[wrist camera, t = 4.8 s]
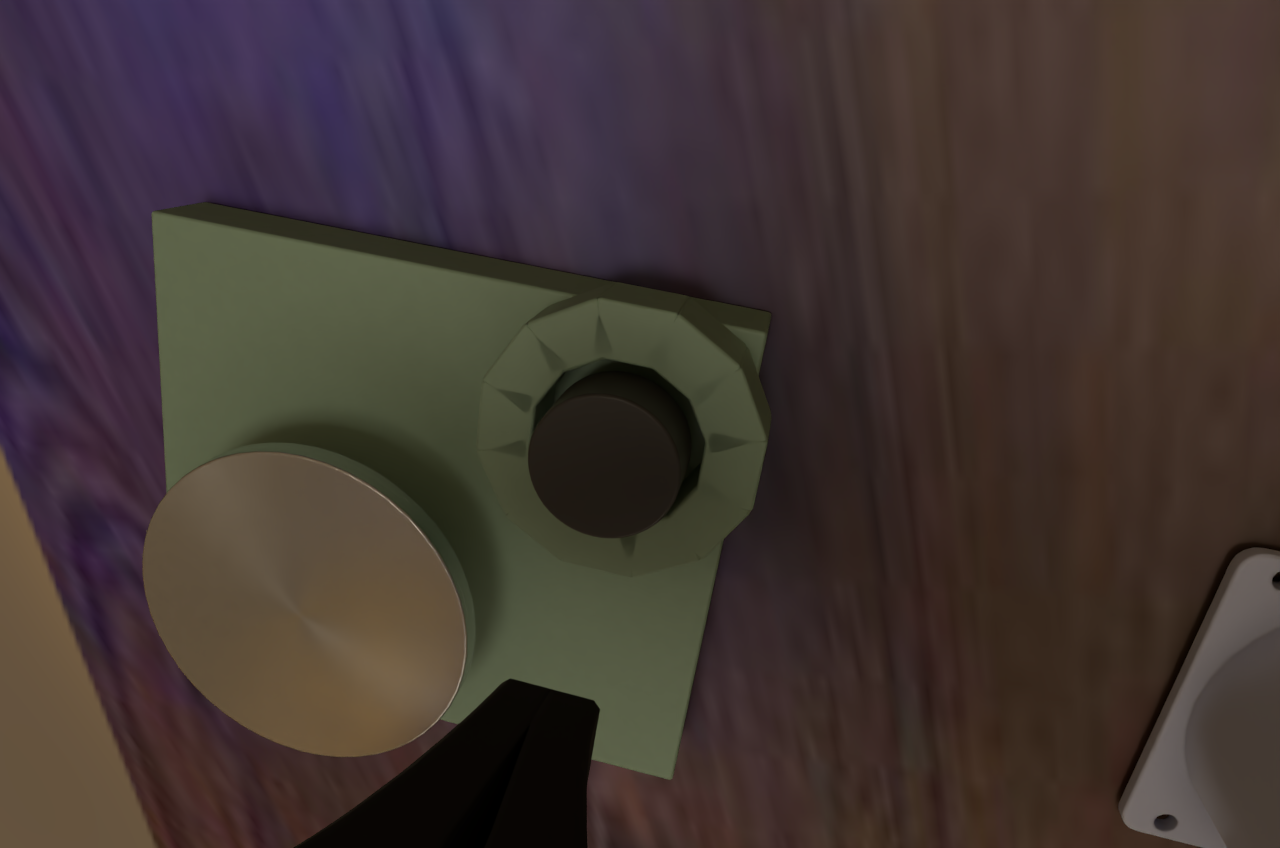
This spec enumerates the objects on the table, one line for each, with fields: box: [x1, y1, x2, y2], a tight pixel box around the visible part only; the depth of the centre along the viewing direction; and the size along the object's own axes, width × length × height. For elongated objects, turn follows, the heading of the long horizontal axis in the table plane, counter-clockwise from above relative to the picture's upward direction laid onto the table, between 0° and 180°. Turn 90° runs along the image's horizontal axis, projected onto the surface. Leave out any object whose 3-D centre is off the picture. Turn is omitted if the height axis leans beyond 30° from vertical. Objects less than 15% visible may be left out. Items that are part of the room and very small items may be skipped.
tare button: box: [528, 371, 692, 538], centre depth 17 cm, size 3×3×2 cm
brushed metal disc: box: [143, 442, 476, 757], centre depth 20 cm, size 8×8×1 cm
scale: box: [152, 202, 771, 780], centre depth 21 cm, size 14×12×4 cm
